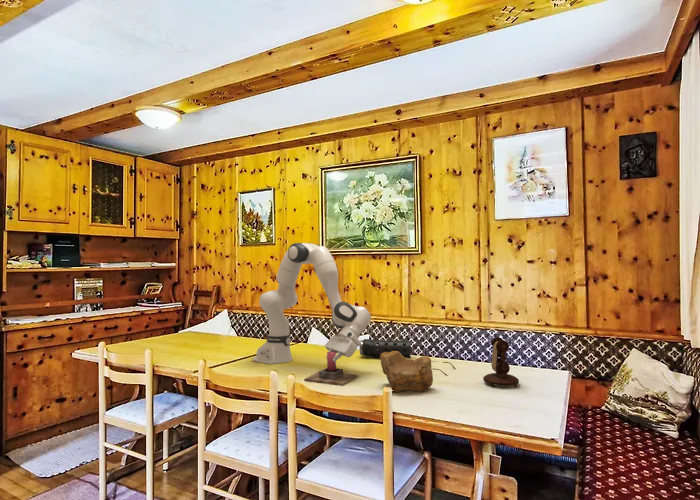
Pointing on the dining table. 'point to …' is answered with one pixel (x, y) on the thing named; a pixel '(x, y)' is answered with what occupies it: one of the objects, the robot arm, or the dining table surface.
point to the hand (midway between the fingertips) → (330, 359)
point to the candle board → (331, 377)
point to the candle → (330, 364)
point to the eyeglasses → (442, 371)
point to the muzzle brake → (384, 347)
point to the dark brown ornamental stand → (500, 365)
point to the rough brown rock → (407, 372)
